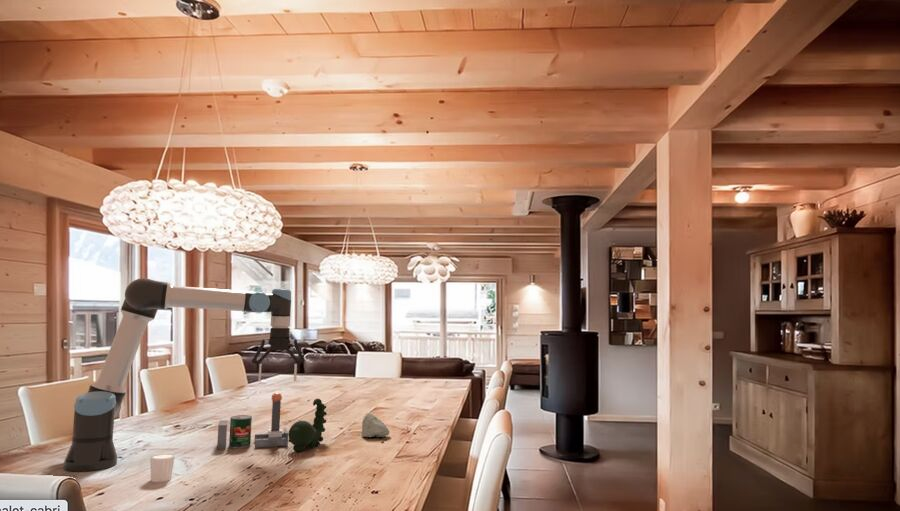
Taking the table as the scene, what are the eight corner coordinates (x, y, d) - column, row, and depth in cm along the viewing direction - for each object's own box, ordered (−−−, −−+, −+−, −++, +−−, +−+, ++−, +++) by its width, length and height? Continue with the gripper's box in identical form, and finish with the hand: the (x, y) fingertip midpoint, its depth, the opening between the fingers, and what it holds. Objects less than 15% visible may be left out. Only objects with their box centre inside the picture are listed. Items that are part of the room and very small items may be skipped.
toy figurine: (308, 445, 235) (278, 453, 212) (312, 397, 239) (282, 400, 215) (330, 446, 233) (301, 455, 209) (334, 398, 237) (306, 401, 213)
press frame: (287, 446, 226) (288, 422, 226) (216, 450, 217) (218, 425, 218) (285, 440, 236) (286, 417, 237) (218, 443, 227) (219, 420, 228)
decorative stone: (351, 436, 244) (359, 419, 240) (363, 423, 254) (371, 406, 250) (376, 453, 242) (385, 437, 238) (388, 439, 252) (396, 423, 248)
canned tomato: (241, 442, 230) (242, 414, 231) (254, 445, 226) (256, 416, 227) (224, 446, 224) (226, 417, 225) (238, 449, 220) (239, 419, 221)
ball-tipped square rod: (281, 444, 227) (284, 393, 229) (268, 445, 225) (270, 394, 227) (280, 440, 233) (282, 391, 235) (267, 441, 232) (270, 391, 234)
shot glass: (167, 475, 184) (168, 452, 184) (177, 479, 179) (179, 456, 180) (144, 479, 179) (146, 456, 179) (154, 484, 174) (156, 460, 175)
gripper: (310, 327, 241) (308, 379, 239) (247, 326, 233) (244, 380, 231) (312, 328, 234) (310, 381, 232) (247, 327, 226) (244, 382, 224)
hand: (277, 380), depth 232 cm, fingers open, 13 cm apart
